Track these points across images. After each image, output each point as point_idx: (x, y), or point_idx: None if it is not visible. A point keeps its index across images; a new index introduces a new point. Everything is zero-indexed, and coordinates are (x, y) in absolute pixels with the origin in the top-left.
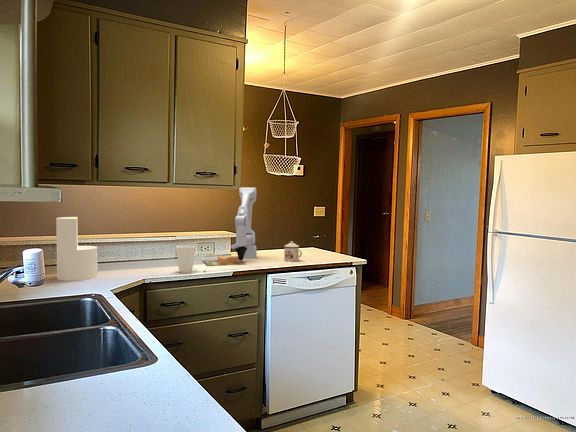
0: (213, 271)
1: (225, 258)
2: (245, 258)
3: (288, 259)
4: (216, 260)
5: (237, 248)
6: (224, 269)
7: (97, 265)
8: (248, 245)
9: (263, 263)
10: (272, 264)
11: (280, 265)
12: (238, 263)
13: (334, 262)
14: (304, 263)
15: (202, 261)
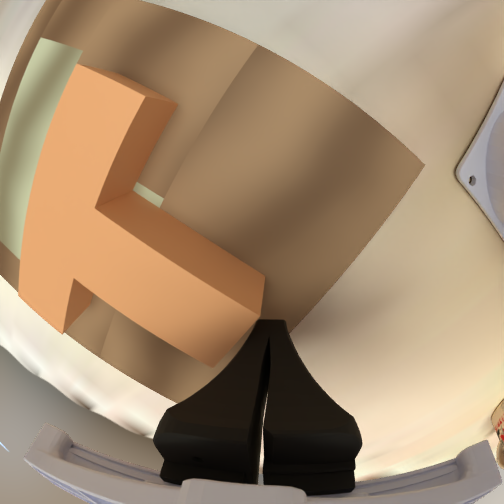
0: (4, 327)
1: (48, 312)
2: (496, 200)
3: (497, 419)
4: (137, 30)
5: (171, 460)
6: (48, 343)
7: None
8: (445, 481)
9: (404, 396)
10: (388, 435)
11: (373, 459)
12: (180, 357)
13: None
14: (456, 455)
15: (29, 33)
